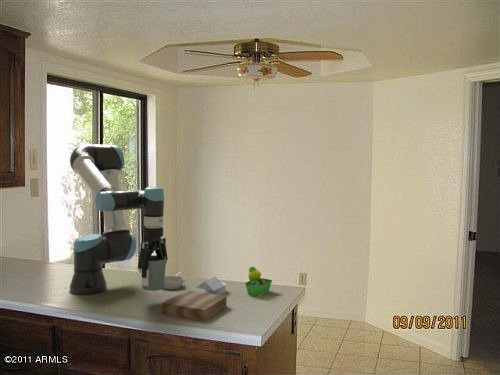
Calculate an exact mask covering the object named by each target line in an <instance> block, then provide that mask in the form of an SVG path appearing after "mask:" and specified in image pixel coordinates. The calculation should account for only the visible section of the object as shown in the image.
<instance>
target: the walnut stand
mask: <svg viewBox="0 0 500 375" xmlns="http://www.w3.org/2000/svg"><path fill="white" fill-rule="evenodd" d="M227 298H228V296H226V295H223V294H221V295H215V294H209V293H205V292H200V291H195V290H189V289H187V290H185V291H182V292H180V293H179V294H177V295H175V296H172V297H170V298H168V299H166V300H164V301H163V302H161V314H164V315H169V316H175V317H180V318H186V319H192V320H198V321H204V322H205V321H206V320H208V319H209V318H211V317H212V316H214V315H215V314H217V313H218V312H220V311H221V310H224V308H226V307H227Z"/></svg>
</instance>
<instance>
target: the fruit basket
mask: <svg viewBox="0 0 500 375" xmlns="http://www.w3.org/2000/svg"><path fill="white" fill-rule="evenodd" d="M247 276H248V279H249V281H246V282H244V285H245V288H246V291H247V294H248V295H249V296H253V297H257V296H258V297H260V296H262V295H265V294H266V293H269V292H270V288H271V285H272V282H273V280H272V279H268V278H263V277H261V276H262V274H261V272H260V270H258V269H257V268H256V267H255V266H249V268H248V274H247Z"/></svg>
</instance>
